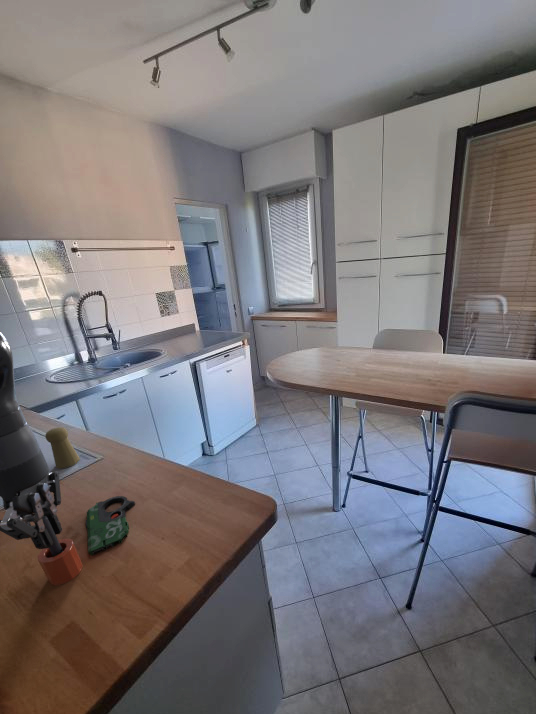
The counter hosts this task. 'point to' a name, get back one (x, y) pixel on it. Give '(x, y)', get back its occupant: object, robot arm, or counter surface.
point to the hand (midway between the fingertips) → (50, 539)
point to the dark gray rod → (56, 546)
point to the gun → (107, 524)
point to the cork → (62, 448)
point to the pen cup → (61, 563)
